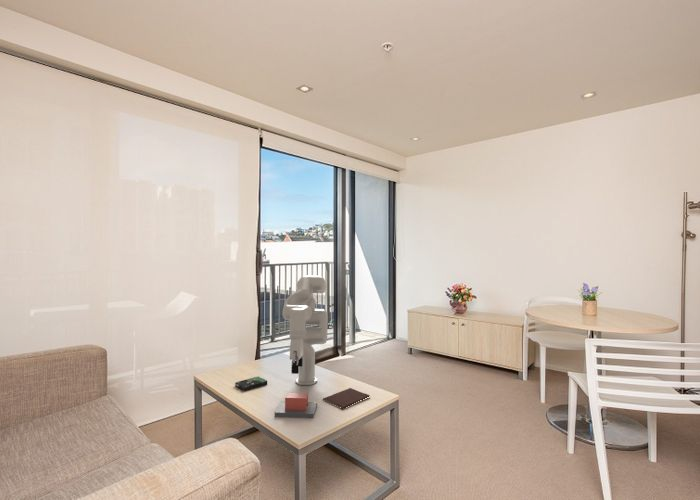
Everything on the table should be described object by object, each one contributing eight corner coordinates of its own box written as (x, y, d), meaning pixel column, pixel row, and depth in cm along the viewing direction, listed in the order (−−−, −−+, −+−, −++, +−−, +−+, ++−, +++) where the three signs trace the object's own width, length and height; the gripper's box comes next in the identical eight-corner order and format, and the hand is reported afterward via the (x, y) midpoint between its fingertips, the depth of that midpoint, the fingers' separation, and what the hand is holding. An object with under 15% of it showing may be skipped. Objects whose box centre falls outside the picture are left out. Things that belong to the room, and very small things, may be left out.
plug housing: (287, 404, 170) (287, 393, 170) (307, 405, 170) (308, 393, 170) (285, 409, 165) (285, 397, 165) (306, 410, 165) (306, 398, 165)
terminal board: (281, 405, 174) (281, 393, 174) (317, 406, 173) (317, 394, 173) (274, 416, 162) (274, 403, 162) (313, 418, 161) (313, 405, 161)
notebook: (322, 401, 181) (322, 397, 181) (349, 390, 194) (349, 386, 194) (342, 410, 170) (343, 406, 170) (370, 399, 184) (370, 395, 184)
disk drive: (243, 392, 190) (267, 385, 200) (243, 387, 190) (267, 380, 200) (234, 387, 197) (258, 380, 208) (234, 382, 197) (258, 375, 208)
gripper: (293, 329, 176) (293, 363, 176) (285, 338, 159) (285, 376, 159) (308, 330, 176) (308, 364, 176) (301, 339, 159) (301, 376, 159)
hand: (297, 369), depth 168 cm, fingers open, 9 cm apart
